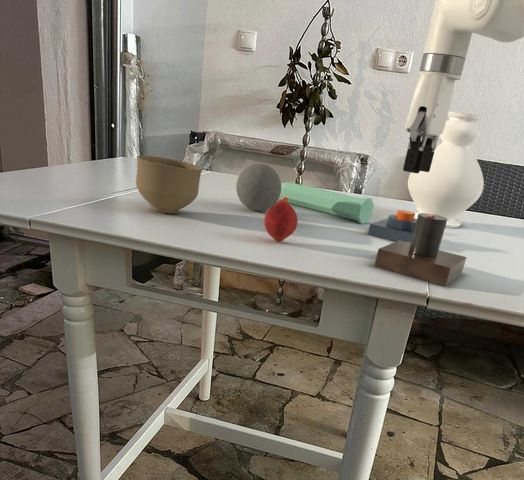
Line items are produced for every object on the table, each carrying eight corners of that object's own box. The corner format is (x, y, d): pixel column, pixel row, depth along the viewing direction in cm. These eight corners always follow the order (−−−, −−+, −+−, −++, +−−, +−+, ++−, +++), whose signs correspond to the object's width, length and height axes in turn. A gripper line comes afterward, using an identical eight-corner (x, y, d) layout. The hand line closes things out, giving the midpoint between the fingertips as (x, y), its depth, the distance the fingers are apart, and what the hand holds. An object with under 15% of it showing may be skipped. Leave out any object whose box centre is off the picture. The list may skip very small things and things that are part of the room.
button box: (432, 240, 108) (437, 221, 106) (418, 247, 101) (423, 227, 99) (383, 228, 113) (388, 210, 111) (367, 234, 106) (371, 215, 104)
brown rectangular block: (461, 274, 87) (466, 257, 85) (445, 286, 79) (450, 268, 78) (395, 256, 92) (399, 240, 91) (374, 266, 84) (378, 248, 83)
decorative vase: (393, 219, 124) (419, 107, 113) (406, 209, 139) (430, 109, 128) (468, 234, 118) (503, 117, 107) (473, 222, 133) (505, 119, 122)
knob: (414, 247, 87) (423, 210, 84) (440, 253, 85) (451, 216, 82) (405, 251, 83) (415, 213, 81) (432, 258, 81) (443, 219, 79)
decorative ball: (244, 203, 120) (248, 158, 115) (284, 211, 117) (290, 165, 113) (227, 209, 111) (231, 161, 107) (269, 218, 108) (275, 169, 104)
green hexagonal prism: (280, 175, 126) (366, 193, 112) (292, 183, 131) (376, 202, 116) (271, 198, 127) (356, 219, 112) (284, 205, 131) (366, 227, 117)
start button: (415, 221, 106) (417, 212, 105) (409, 223, 103) (411, 214, 102) (399, 217, 107) (401, 209, 107) (393, 219, 105) (395, 210, 104)
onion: (280, 248, 88) (286, 201, 84) (255, 239, 91) (260, 194, 87) (300, 244, 92) (307, 199, 88) (275, 236, 95) (281, 192, 91)
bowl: (208, 219, 100) (212, 167, 96) (144, 218, 95) (145, 162, 90) (188, 205, 110) (191, 157, 106) (129, 203, 105) (129, 152, 100)
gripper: (435, 72, 101) (412, 166, 109) (405, 61, 88) (382, 169, 96) (473, 75, 98) (446, 173, 106) (448, 64, 84) (420, 177, 92)
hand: (416, 170), depth 101 cm, fingers open, 5 cm apart
